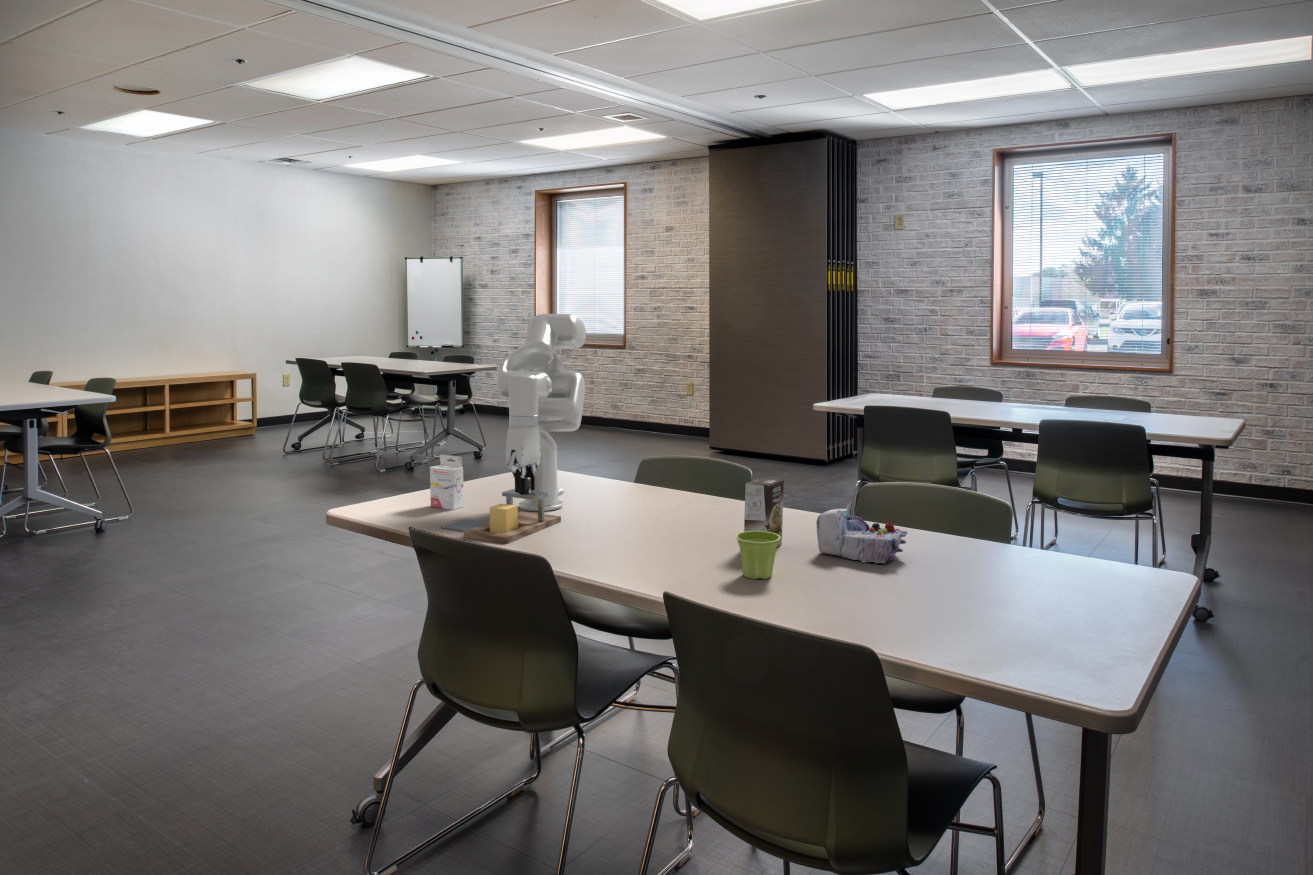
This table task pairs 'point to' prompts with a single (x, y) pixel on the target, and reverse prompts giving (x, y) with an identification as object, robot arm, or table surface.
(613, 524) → the table surface
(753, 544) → the plant pot
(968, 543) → the table surface
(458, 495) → the ink cartridge box
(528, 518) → the puzzle board
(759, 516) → the coffee box
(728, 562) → the table surface
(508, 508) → the ochre block
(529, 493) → the cover bar
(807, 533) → the table surface
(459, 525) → the rubber mat
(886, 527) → the cell model
